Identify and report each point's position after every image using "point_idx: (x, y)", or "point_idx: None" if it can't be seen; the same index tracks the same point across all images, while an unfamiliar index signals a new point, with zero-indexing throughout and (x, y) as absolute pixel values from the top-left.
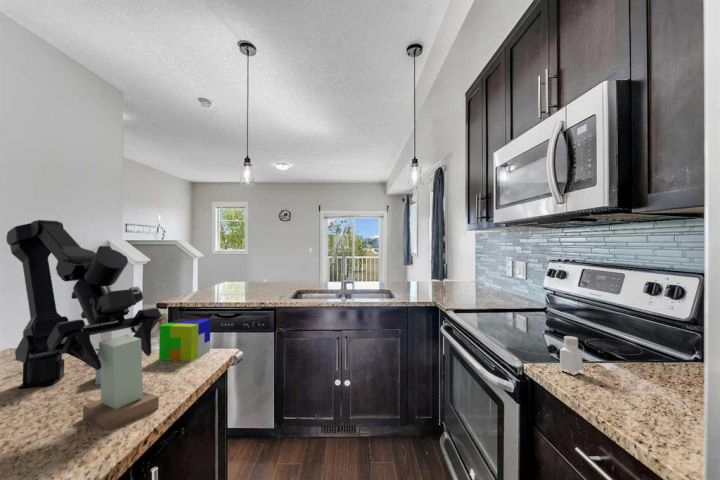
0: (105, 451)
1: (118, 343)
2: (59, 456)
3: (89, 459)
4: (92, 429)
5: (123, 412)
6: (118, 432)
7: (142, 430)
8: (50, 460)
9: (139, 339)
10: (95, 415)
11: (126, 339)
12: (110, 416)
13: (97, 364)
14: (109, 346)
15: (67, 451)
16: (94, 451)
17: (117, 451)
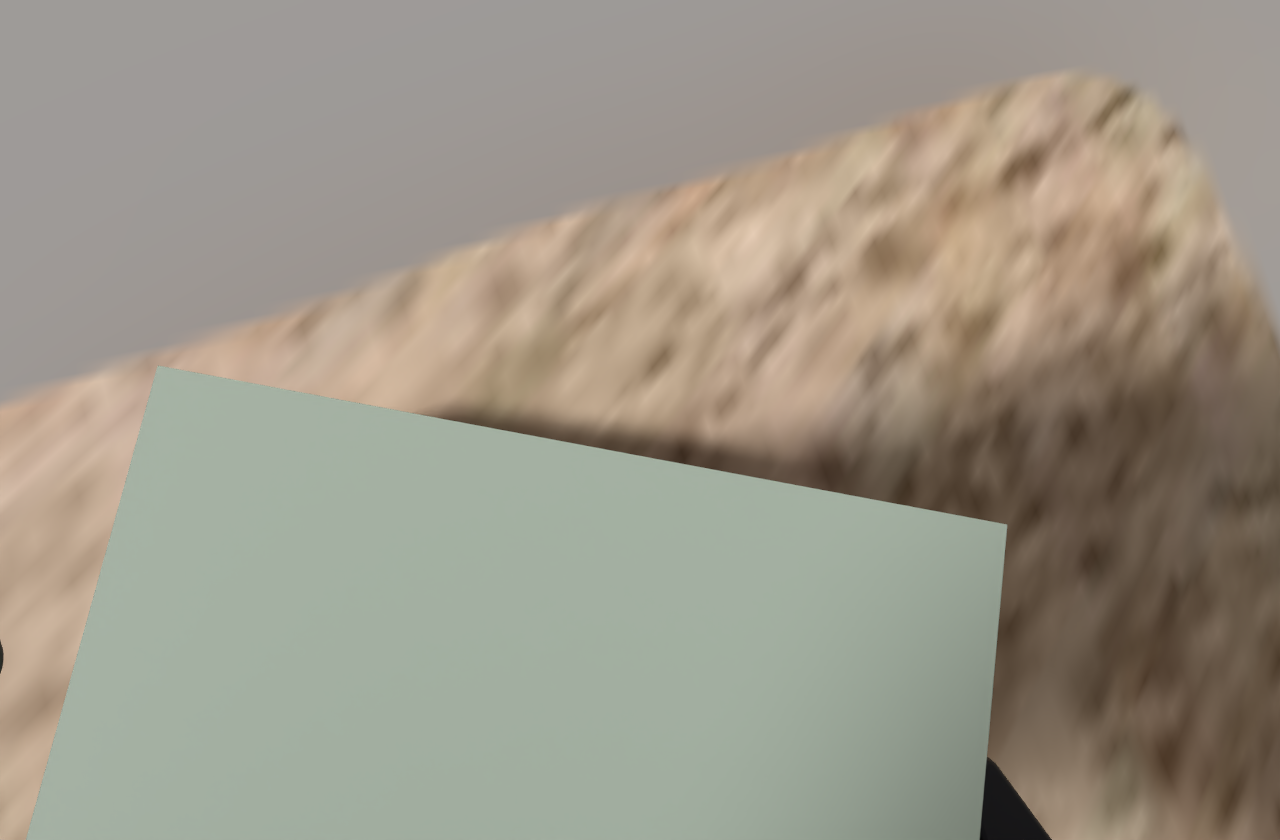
0: (989, 246)
1: (750, 667)
2: (1158, 503)
3: (1092, 260)
4: None
5: None
6: (774, 403)
7: (683, 243)
8: (1210, 512)
9: (215, 376)
10: None
11: (362, 799)
12: None
13: (1023, 801)
14: (981, 740)
15: (1098, 516)
16: (1019, 322)
17: (956, 165)
